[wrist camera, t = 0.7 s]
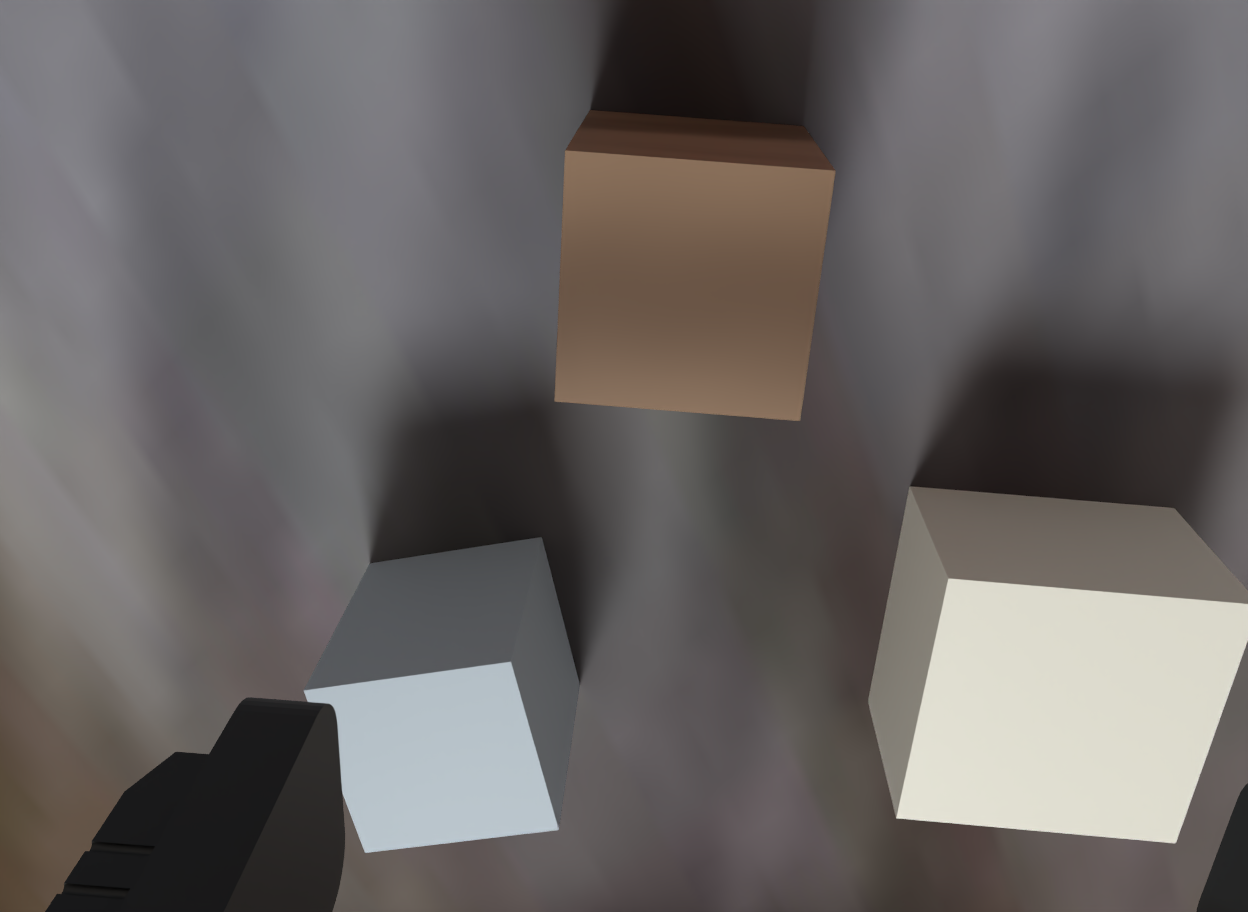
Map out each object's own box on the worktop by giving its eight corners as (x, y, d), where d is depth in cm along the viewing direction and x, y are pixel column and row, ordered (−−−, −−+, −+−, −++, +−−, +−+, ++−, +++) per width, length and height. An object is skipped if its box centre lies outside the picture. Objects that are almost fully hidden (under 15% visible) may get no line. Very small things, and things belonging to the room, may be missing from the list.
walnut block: (589, 109, 26) (565, 150, 20) (803, 125, 26) (835, 170, 20) (579, 314, 28) (554, 401, 23) (777, 330, 28) (799, 421, 22)
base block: (908, 483, 30) (948, 578, 25) (1171, 505, 29) (1260, 604, 25) (867, 697, 32) (896, 817, 28) (1106, 718, 32) (1175, 843, 28)
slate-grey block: (370, 562, 31) (303, 690, 26) (541, 536, 31) (510, 662, 25) (417, 705, 33) (365, 852, 28) (579, 683, 33) (558, 830, 27)
